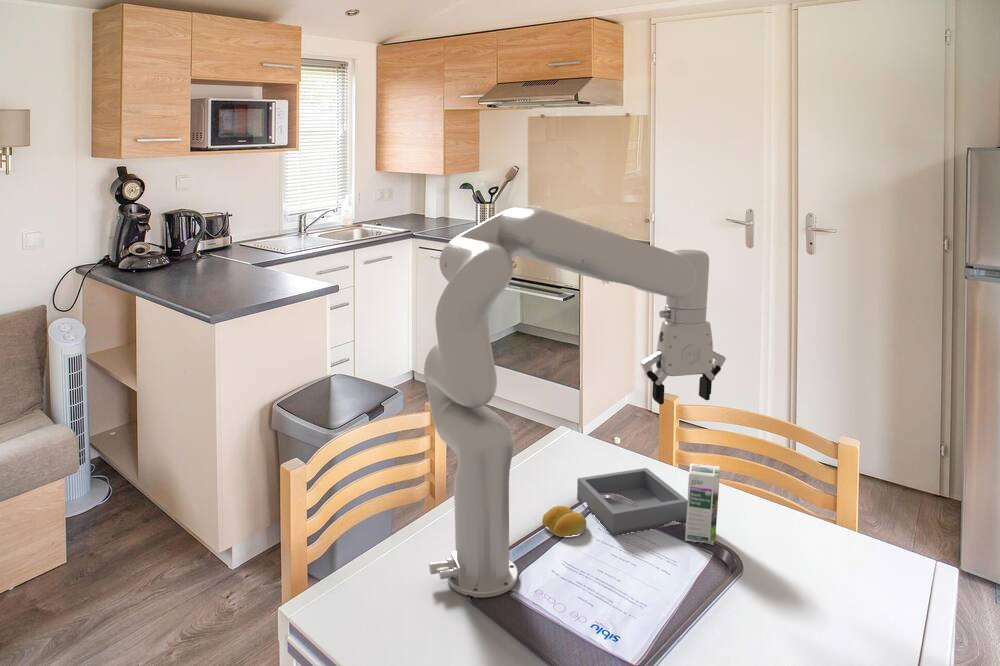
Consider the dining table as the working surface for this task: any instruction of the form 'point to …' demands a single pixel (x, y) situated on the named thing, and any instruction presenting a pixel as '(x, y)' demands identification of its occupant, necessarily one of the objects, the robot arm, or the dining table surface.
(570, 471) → the dining table surface
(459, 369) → the robot arm
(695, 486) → the syrup box
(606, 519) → the bin
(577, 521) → the bread roll
